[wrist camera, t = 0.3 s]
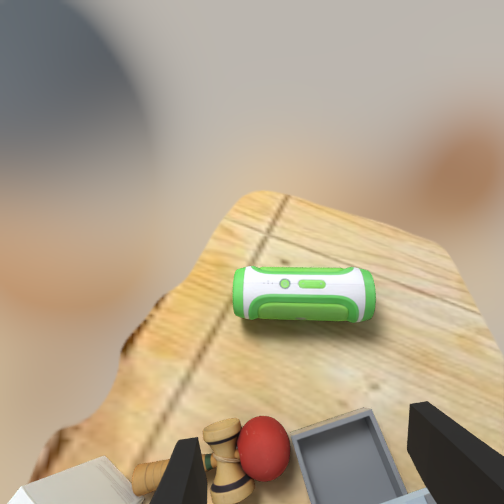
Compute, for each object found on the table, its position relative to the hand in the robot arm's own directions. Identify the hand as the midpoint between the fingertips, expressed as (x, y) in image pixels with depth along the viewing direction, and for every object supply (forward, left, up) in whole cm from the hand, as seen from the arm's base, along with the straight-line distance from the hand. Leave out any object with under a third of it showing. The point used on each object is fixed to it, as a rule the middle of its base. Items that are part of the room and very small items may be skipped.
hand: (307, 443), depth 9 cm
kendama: (-3, +10, -30) cm, 31 cm away
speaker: (+12, -6, -30) cm, 33 cm away
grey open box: (-7, -4, -29) cm, 30 cm away
